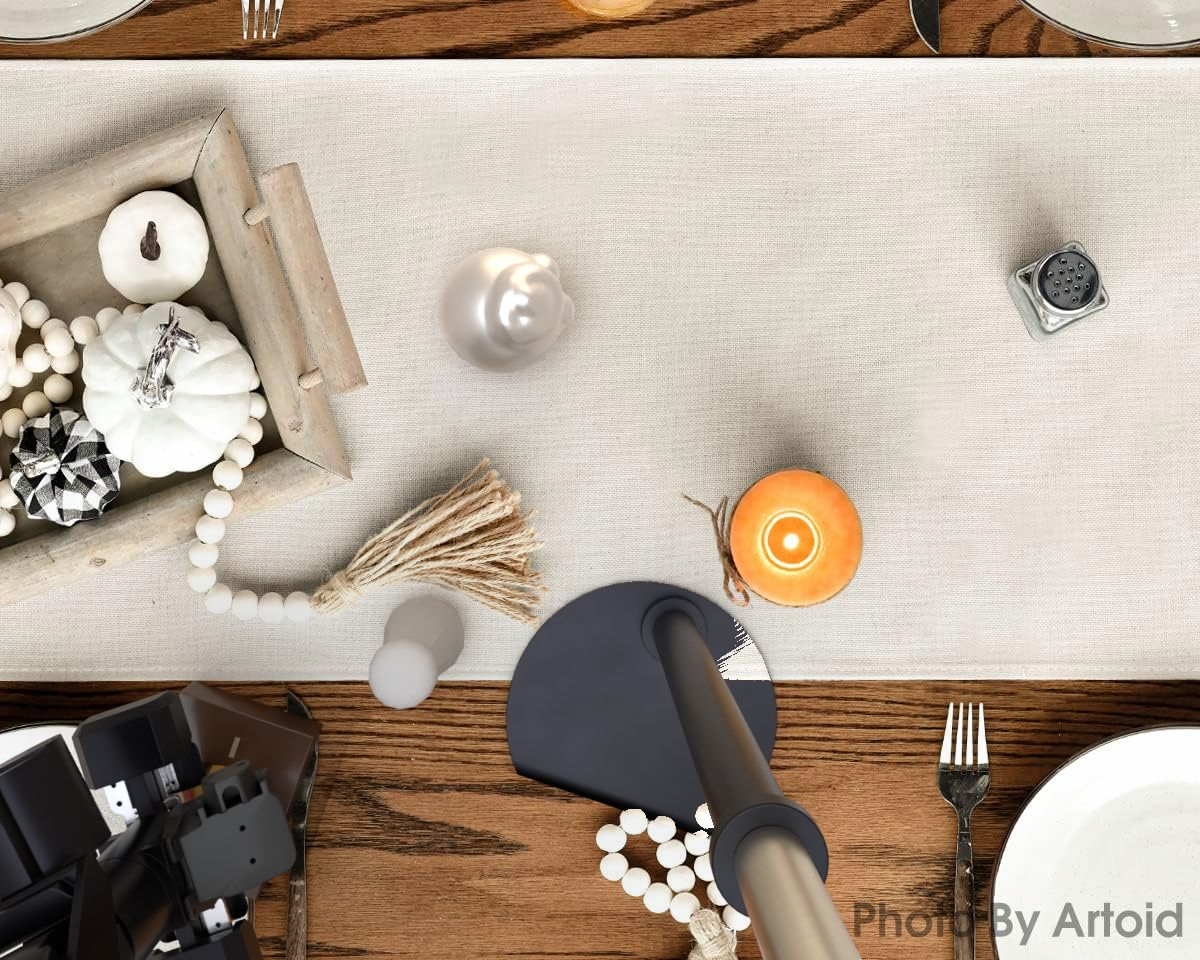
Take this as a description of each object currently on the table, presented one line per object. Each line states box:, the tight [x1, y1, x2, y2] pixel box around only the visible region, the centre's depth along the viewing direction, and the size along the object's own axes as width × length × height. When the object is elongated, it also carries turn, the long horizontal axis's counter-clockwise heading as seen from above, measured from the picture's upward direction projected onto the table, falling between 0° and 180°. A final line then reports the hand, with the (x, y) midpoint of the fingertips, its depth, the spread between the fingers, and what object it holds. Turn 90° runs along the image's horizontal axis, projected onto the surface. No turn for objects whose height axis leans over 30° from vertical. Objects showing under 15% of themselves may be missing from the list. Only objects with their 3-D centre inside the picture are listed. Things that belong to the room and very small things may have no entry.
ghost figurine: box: [437, 246, 576, 374], centre depth 73 cm, size 9×10×10 cm
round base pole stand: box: [505, 580, 863, 960], centre depth 52 cm, size 20×20×50 cm
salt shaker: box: [368, 595, 465, 710], centre depth 71 cm, size 6×6×13 cm
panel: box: [166, 680, 324, 901], centre depth 75 cm, size 12×10×3 cm
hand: (215, 799), depth 73 cm, fingers closed on knob, 4 cm apart
